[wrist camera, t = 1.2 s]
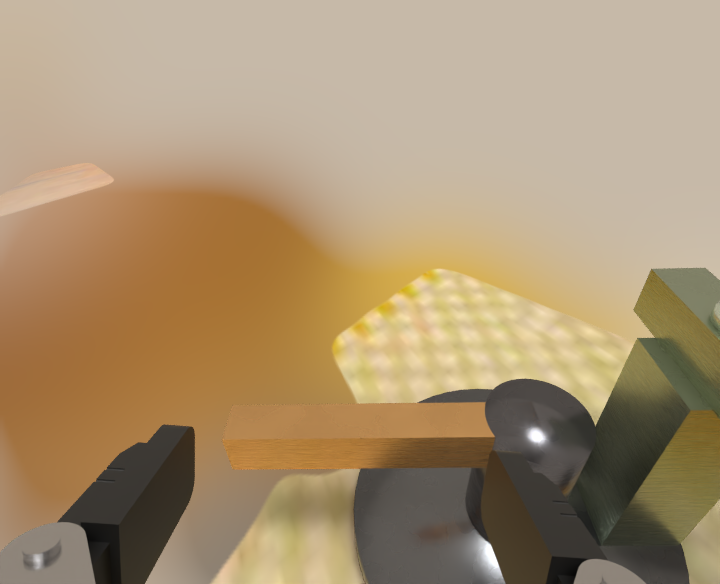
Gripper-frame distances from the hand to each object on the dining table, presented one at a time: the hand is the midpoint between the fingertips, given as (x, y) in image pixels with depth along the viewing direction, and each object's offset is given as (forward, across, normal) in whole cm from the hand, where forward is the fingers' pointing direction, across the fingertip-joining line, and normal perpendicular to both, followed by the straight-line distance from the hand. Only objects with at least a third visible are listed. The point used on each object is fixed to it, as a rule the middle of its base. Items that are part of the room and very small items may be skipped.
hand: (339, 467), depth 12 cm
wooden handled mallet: (+16, -5, +14) cm, 22 cm away
